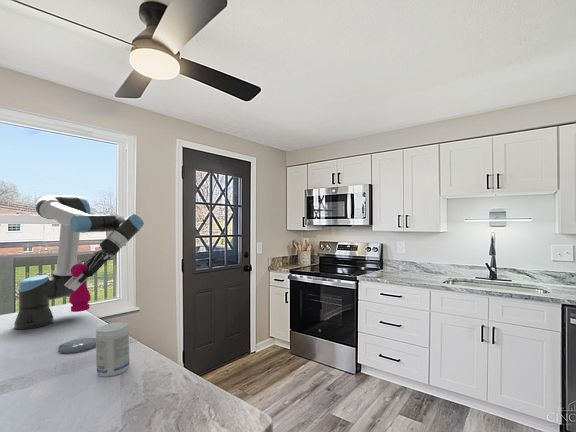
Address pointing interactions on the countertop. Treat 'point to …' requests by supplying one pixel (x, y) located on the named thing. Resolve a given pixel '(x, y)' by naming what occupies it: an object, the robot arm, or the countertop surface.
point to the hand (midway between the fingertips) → (69, 288)
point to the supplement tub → (112, 349)
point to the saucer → (77, 345)
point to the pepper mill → (79, 290)
